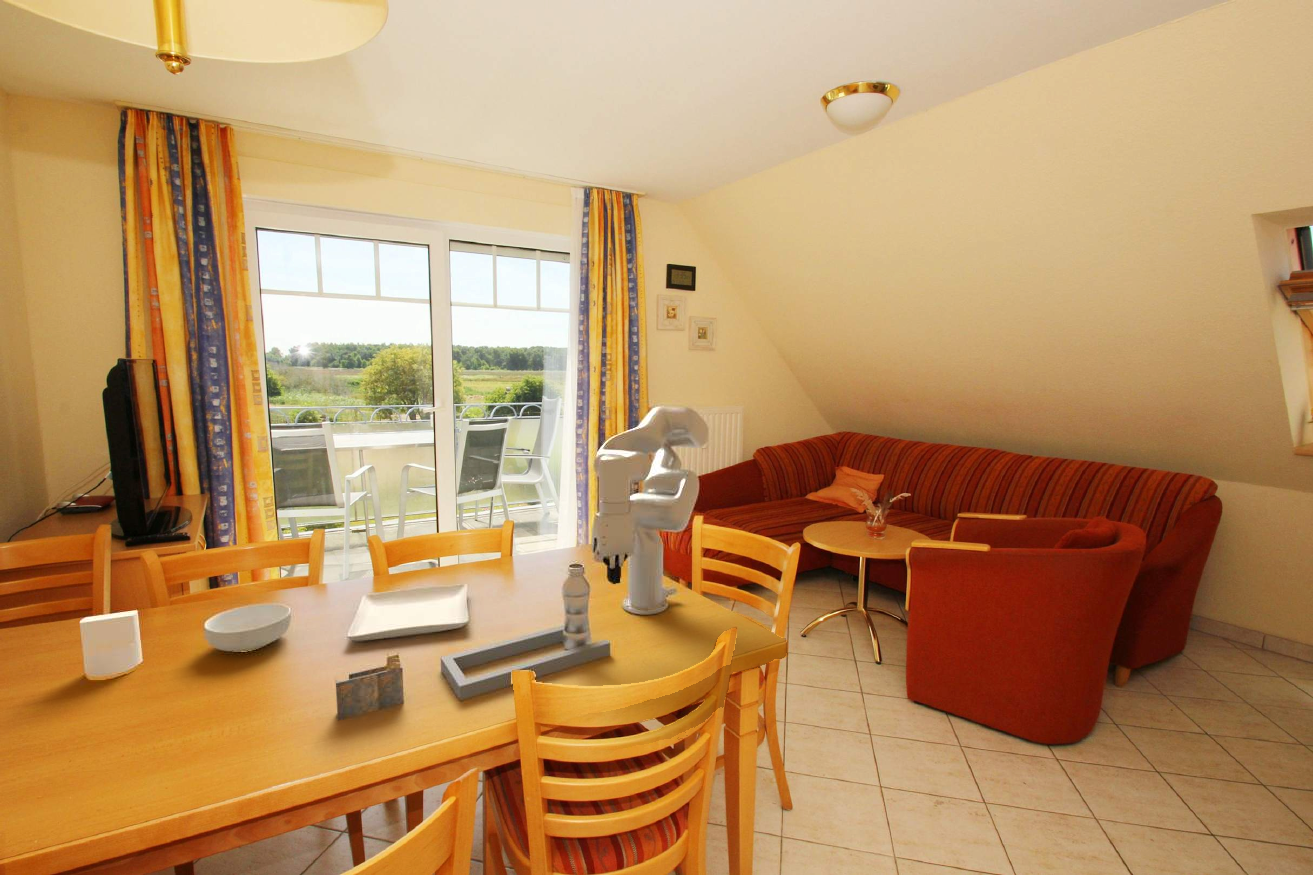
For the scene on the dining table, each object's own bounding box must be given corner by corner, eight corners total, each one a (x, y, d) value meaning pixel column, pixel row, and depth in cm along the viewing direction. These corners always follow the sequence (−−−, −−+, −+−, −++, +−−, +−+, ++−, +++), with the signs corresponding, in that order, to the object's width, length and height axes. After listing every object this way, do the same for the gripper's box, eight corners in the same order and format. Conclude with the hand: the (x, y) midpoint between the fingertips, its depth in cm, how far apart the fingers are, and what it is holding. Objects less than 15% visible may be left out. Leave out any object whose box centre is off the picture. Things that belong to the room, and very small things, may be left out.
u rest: (582, 632, 147) (582, 620, 146) (610, 655, 135) (610, 642, 135) (441, 670, 128) (440, 657, 127) (459, 700, 116) (459, 686, 116)
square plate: (467, 594, 171) (467, 581, 170) (469, 635, 145) (468, 620, 145) (364, 605, 162) (363, 591, 162) (346, 651, 137) (345, 635, 136)
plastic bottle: (586, 656, 134) (585, 572, 132) (558, 653, 136) (557, 569, 133) (594, 643, 141) (594, 562, 138) (567, 640, 142) (567, 560, 140)
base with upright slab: (78, 685, 120) (72, 628, 119) (94, 665, 128) (89, 612, 127) (135, 674, 125) (129, 620, 123) (148, 656, 132) (143, 604, 131)
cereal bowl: (302, 645, 139) (300, 616, 138) (215, 671, 126) (212, 639, 126) (280, 623, 150) (278, 596, 149) (199, 645, 138) (196, 616, 137)
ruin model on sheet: (401, 697, 118) (399, 651, 117) (403, 704, 116) (402, 657, 114) (337, 713, 112) (334, 665, 111) (338, 722, 110) (335, 672, 109)
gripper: (632, 500, 147) (632, 572, 149) (578, 508, 139) (578, 583, 141) (649, 506, 141) (648, 580, 143) (594, 514, 133) (594, 593, 135)
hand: (614, 581), depth 142 cm, fingers closed
